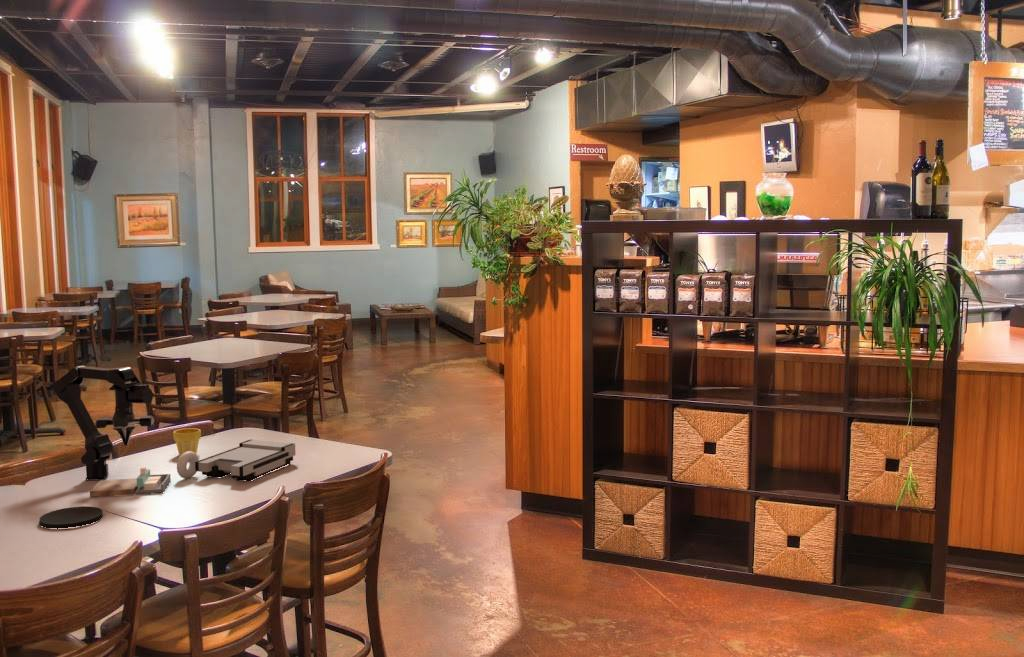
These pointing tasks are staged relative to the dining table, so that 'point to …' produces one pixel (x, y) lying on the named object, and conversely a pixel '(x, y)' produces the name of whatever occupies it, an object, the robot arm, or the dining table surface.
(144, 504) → the dining table surface
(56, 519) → the wireless charger
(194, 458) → the donut
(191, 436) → the plant pot
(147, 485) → the tile
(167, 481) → the box
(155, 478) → the tile
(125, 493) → the walnut board
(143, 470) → the long mint beam
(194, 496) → the dining table surface
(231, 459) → the game console
